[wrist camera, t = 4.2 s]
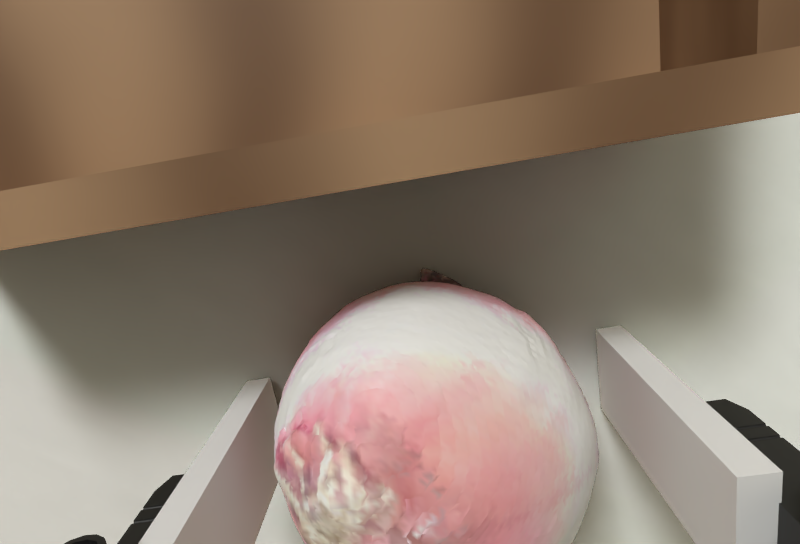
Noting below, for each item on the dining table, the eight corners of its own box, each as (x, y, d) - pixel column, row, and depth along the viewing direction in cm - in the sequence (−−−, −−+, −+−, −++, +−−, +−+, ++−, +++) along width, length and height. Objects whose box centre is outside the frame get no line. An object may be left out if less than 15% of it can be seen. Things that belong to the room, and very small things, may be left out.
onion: (278, 337, 16) (155, 366, 9) (492, 240, 16) (543, 191, 9) (376, 568, 15) (327, 800, 8) (601, 472, 15) (753, 626, 8)
